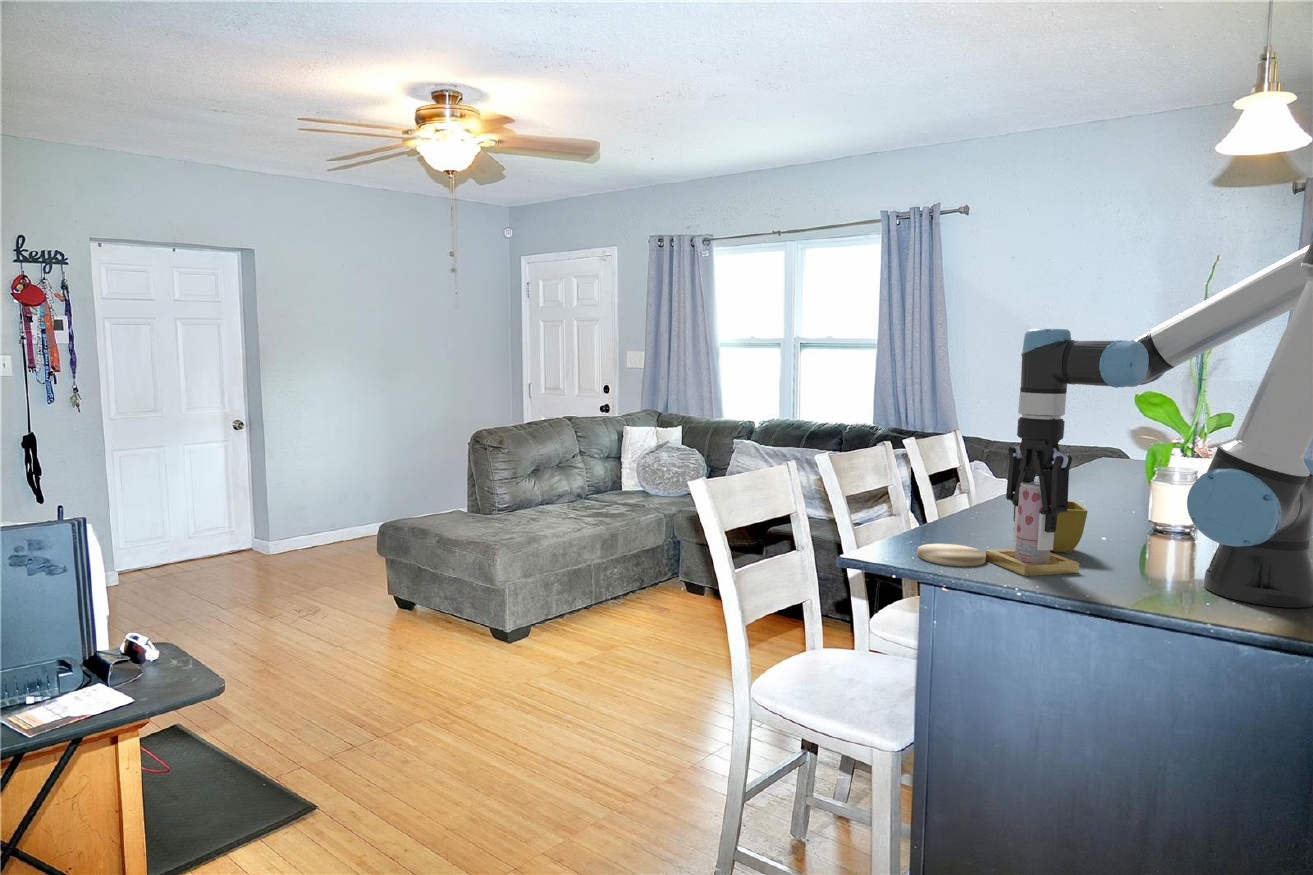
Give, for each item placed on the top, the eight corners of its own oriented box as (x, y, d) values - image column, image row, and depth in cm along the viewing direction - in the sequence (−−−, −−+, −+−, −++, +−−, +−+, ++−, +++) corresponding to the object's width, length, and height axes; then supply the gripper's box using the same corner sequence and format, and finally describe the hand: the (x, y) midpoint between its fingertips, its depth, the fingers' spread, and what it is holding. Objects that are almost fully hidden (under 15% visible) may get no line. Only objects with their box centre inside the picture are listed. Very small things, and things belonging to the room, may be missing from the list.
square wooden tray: (1078, 572, 150) (1079, 562, 149) (1024, 576, 147) (1024, 565, 147) (1036, 557, 160) (1037, 547, 160) (985, 559, 158) (985, 550, 157)
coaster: (999, 564, 154) (999, 558, 154) (940, 567, 151) (940, 561, 151) (960, 548, 166) (961, 542, 166) (905, 551, 163) (905, 544, 163)
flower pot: (1085, 556, 161) (1088, 510, 160) (1035, 553, 163) (1039, 507, 162) (1072, 545, 170) (1075, 501, 169) (1025, 543, 171) (1028, 499, 170)
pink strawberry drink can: (1009, 565, 153) (1014, 483, 152) (1021, 560, 157) (1026, 480, 156) (1041, 572, 149) (1047, 487, 148) (1053, 566, 153) (1059, 484, 152)
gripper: (1098, 421, 142) (1088, 557, 145) (1023, 412, 160) (1016, 532, 163) (1061, 422, 140) (1051, 559, 143) (989, 412, 158) (982, 534, 161)
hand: (1032, 545), depth 153 cm, fingers closed on pink strawberry drink can, 6 cm apart
